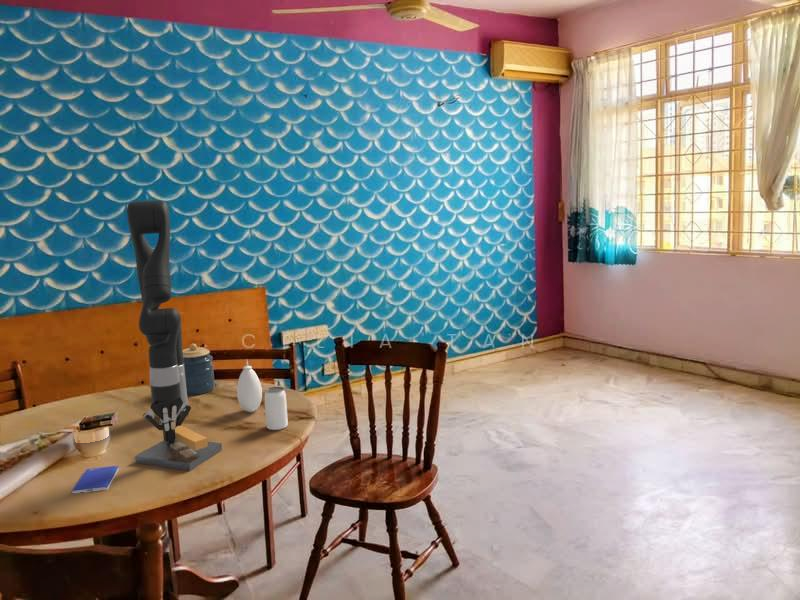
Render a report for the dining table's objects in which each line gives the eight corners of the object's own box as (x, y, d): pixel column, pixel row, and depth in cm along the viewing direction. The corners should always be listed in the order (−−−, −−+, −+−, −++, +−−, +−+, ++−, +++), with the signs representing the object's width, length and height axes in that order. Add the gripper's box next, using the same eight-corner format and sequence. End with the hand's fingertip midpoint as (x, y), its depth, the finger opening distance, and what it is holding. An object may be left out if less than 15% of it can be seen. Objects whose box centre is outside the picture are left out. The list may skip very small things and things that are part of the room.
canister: (178, 387, 243) (173, 342, 240) (213, 382, 247) (209, 338, 244) (179, 397, 231) (175, 349, 228) (217, 392, 236) (212, 345, 232)
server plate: (135, 462, 176) (134, 454, 176) (170, 443, 189) (169, 435, 189) (190, 470, 170) (189, 462, 170) (222, 449, 183) (221, 442, 182)
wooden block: (161, 439, 186) (159, 422, 185) (173, 435, 189) (171, 418, 188) (196, 457, 173) (194, 438, 172) (208, 453, 175) (206, 434, 174)
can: (283, 431, 195) (280, 393, 193) (263, 430, 197) (260, 392, 195) (291, 423, 202) (288, 386, 200) (271, 422, 203) (268, 385, 201)
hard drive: (85, 469, 171) (71, 490, 159) (118, 465, 173) (107, 485, 161) (86, 474, 171) (72, 496, 159) (119, 470, 173) (107, 491, 161)
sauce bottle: (254, 416, 209) (249, 362, 206) (234, 414, 212) (229, 361, 209) (267, 408, 216) (263, 356, 213) (248, 406, 219) (243, 355, 216)
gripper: (144, 389, 168) (150, 452, 171) (194, 379, 176) (198, 440, 179) (135, 383, 174) (141, 444, 177) (183, 374, 182) (188, 433, 185)
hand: (170, 442), depth 178 cm, fingers closed
